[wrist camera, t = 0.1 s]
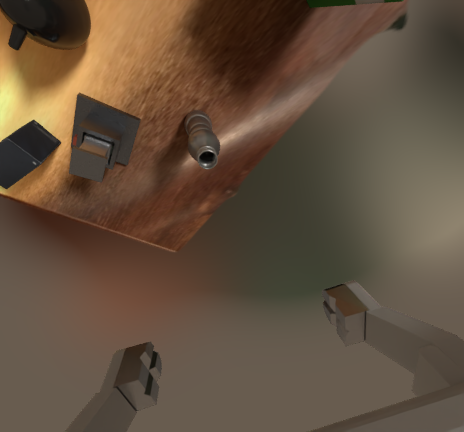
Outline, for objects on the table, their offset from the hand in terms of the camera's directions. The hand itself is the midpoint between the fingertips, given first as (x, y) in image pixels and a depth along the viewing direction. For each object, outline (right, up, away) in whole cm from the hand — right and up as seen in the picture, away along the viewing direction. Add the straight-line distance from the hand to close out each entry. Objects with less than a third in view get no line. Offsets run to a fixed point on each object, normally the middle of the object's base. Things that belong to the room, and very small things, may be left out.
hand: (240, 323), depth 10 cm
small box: (-46, +22, +39) cm, 64 cm away
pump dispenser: (-29, +40, +27) cm, 57 cm away
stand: (-29, +25, +41) cm, 56 cm away
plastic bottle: (-9, +28, +44) cm, 53 cm away
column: (-29, +23, +40) cm, 55 cm away
